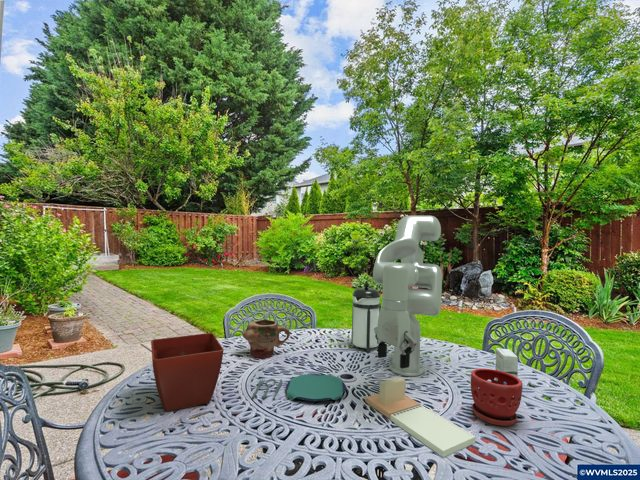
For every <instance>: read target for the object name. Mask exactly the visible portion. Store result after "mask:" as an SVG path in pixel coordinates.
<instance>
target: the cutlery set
mask: <svg viewBox="0 0 640 480" xmlns="http://www.w3.org/2000/svg"><path fill="white" fill-rule="evenodd" d="M269 382H273V384H271V385H268V383H269ZM276 382H277V381H276V379H274V378H270V379H267V380H266V381H265V379H260V380H259V381H258V382H257V384H256V386H257V387H256V389H255V391H254V392H253V394H252V395H251V400H254V399H255V398H256V396H257V394H258V392H259V390H260V388H261V387H263V386H264V383H265V385H266V386H267V388H266V390H265V391H264V393H263V395H262V397H261V398H262V400H265V399H266V397H267V394H268V392H269V389H270V388H271V387H274V385H275V384H276ZM282 384H283V380H282V379H280V380H279V382H278V385H277V387H275V392H274V396H273V397H272V401H276V397H277V394H278V393H279V391H280V389H281V386H282ZM346 389H347V386H346V383H345V382H344V381H343V378H340V377H339V376H336V375H333V374H323V373H322V374H321V373H317V374H316V373H313V374H312V373H311V374H310V373H309V374H307V373H304V374H300V375H298V376H295V377H292V378H291V379H290V380H289V381H288V382H287V383H286V384H285V391H286V396H287V398H288V399H290V400H291V401H293V400H294V399H298V400H302V401H307V402H326V401H330V400H334V401H336V400H338V399H341V398H342V397H343V396H344V393H345V392H346Z"/></svg>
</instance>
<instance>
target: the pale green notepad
mask: <svg viewBox="0 0 640 480" xmlns="http://www.w3.org/2000/svg"><path fill="white" fill-rule="evenodd" d="M389 420H390V421H391V422H392V423H394V424H395V425H397V426H398V427H400V428H401V429H402V430H404V431H405V432H406V433H408V434H409V435H411V436H412V437H414V438H415V439H416V440H418V441H419V442H421V444H423V445H425V446H427V447H428V448H430V449H431V450H432V451H434V452H435V453H436V454H438V455H440V457H442V458H445V457H447V456H450V455H451V454H454V453H455V452H456V453H457V452H458V451H461V450H462V449H465V448H467V447H469V446H471V445H473V444H475V443H476V440H477V439H476V438H477V437H476V436H475V435H473V434H472V433H470V432H469V431H467V430H466V429H464V428H462V427H461V426H459V425H456V424H455V423H453V422H452V421H450V420H448V419H446V418H445V417H443V416H442V415H439V414H437V413H436V412H434V411H433V410H431V409H428V408H427V406H426V407H425V406H424V405H422V404H420V405H419V406H416V407H413V408H410V409H407V410H403V411H400V412H397V413H394V414H391V415H390V419H389Z"/></svg>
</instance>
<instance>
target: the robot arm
mask: <svg viewBox="0 0 640 480" xmlns="http://www.w3.org/2000/svg"><path fill="white" fill-rule="evenodd" d="M441 235H442V227H441V223H440V221H439V219H438V218H437V217H435V216H433V215H406V216H403V217H402V218H400V220H399V222H398V223H397V225H396V233H395V237H394V240H393V241H392V242H390V243H389V244H387V245H385V246H384V247H383V248H381V249H380V251H379V252H378V254H377V255H376V259H375V261H374V266H373V271H372V278H373V281H374V282H375V283H376V284H378V285H382V299H381V309H380V312H379V317H378V325H377V327H375V328H374V332H375V334H376V335H375V337H376V339H377V344H378V345H377V346H378V347H377V358H379V359H383V358H387V355H388V345H390V346H393V347H394V351H393V352H391V353H390V354H389V355H388V358H389V359H390V360H392V362H391V363H390V364H389V370H390V371H392V372H393V373H395V374H397V375H400V376H405V377H418V376H421V375H423V374H424V370H425V369H424V367H423V366H422V365H420V362H421V361H420V360H421V357H420V355H421V324H420V321H419V320H418V318H417V317H416V316H415V315H421V316H432V317H435V316H437V315H439V314H440V313H441V309H442V308H441V307H442V293H443V292H442V290H443V287H442V286H443V273H442V272H443V271H442V269H441V267H440V266H439V265H438V264H434V263H424V251H423V250H422V248H421V247H420V246H419V243H420V241H421V242H423V241H424V242H429V241H430V242H436V241H438V240H439V239H440V237H441ZM398 260H401V262H396V261H398ZM421 288H424V289H421Z"/></svg>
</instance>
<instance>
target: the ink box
mask: <svg viewBox="0 0 640 480" xmlns="http://www.w3.org/2000/svg"><path fill="white" fill-rule="evenodd" d="M518 361H519V358H518V356H517V355H516V354H515V353H514V352H513V351H512V350H511V349H508V348H499V347H498V348H497V347H496V348H495V370H498V371H502V372H505V373H508V374H511V375H513V376H515V377H517V378H518V379H519V375H518V374H519V373H518V370H519V369H518V368H519V367H518V366H519V363H518ZM494 380H495V381H498V379H497V378H494ZM504 384H505V385H507V383H506V382H504Z"/></svg>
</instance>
